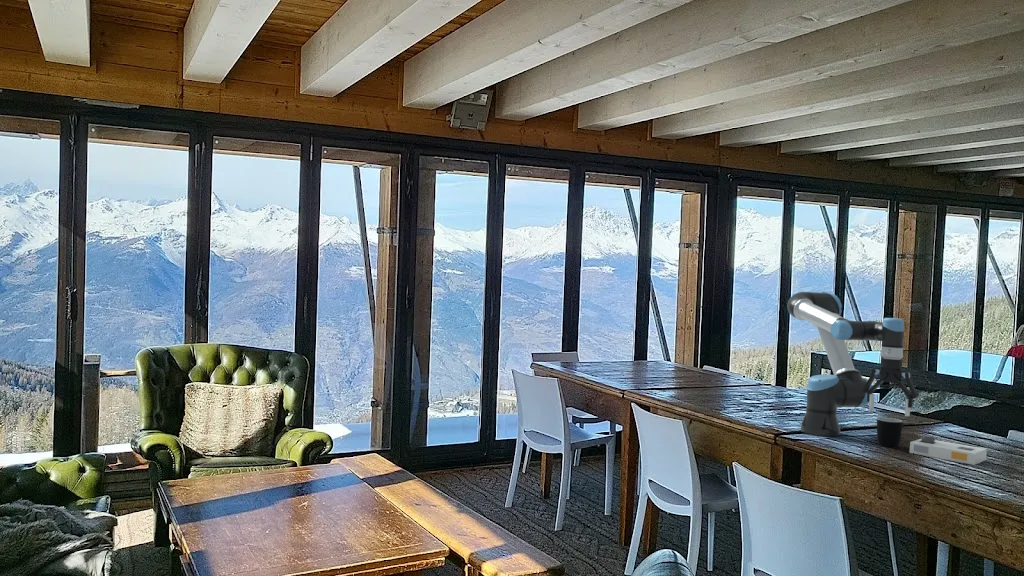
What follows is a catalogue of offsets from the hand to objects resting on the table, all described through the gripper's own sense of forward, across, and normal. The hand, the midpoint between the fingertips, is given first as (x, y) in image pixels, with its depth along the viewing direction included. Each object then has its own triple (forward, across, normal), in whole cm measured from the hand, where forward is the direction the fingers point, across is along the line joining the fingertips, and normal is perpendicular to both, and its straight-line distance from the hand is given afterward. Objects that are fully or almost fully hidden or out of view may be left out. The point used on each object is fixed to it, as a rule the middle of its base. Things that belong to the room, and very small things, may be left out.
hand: (889, 413), depth 325 cm
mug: (+13, 0, 0) cm, 13 cm away
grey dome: (+12, +28, 0) cm, 30 cm away
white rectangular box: (+13, +22, 0) cm, 25 cm away
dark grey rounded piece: (+10, +15, 0) cm, 17 cm away
